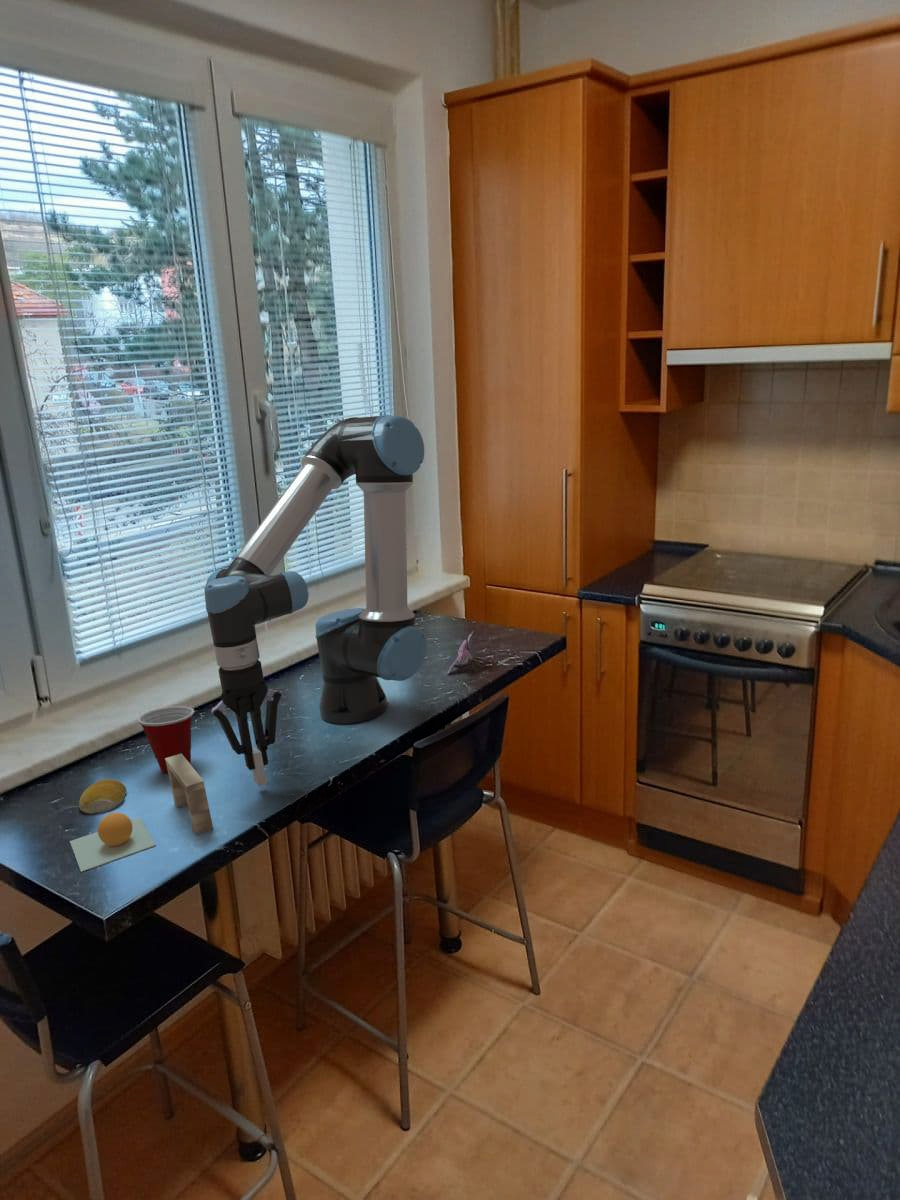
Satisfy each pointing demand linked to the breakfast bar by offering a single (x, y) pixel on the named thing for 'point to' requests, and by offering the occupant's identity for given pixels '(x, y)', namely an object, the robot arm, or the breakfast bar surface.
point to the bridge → (189, 792)
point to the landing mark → (110, 847)
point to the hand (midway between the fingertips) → (260, 782)
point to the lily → (464, 652)
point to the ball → (115, 829)
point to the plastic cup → (168, 732)
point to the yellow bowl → (102, 796)
